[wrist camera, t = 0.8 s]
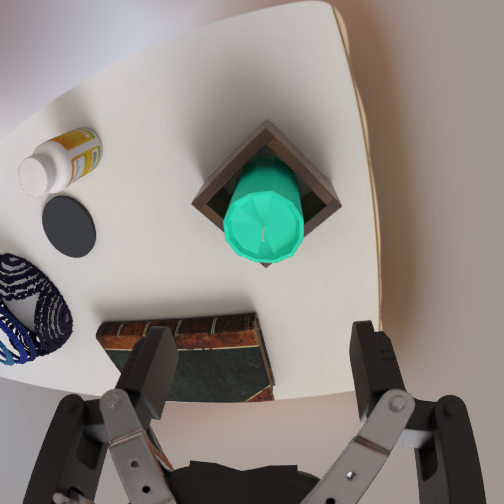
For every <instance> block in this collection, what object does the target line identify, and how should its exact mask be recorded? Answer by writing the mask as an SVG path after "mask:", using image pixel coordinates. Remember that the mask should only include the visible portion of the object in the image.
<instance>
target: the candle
mask: <svg viewBox="0 0 504 504" xmlns="http://www.w3.org/2000/svg"><path fill="white" fill-rule="evenodd" d="M223 226H224V233H225V240H226V241H227V242H228V244H229V245H230V246H231V247H232V249H233V250H234V251H235V252H236V254H237V255H239V256H242V257H244V258H247V259H249V260H252V261H254V262H267V263H276V262H279V261H281V260H284V259H286V258H289V257H291V256H293V255H294V253H295V252H296V250H297V249H298V247H299V245H300V244H301V242H302V240H303V233H304V219H303V213H302V207H301V201H300V195H299V190H298V184H297V179H296V175H295V173H294V172H293V170H292V169H291V168H290V167H289V166H288V165H287V164H286V163H285V162H284V161H282V160H280V159H278V158H276V157H274V156H270V157H258V158H256V159H254V160H253V161H251V162H250V163H248V164H246V166H245V167H244V169H243V171H242V173H241V175H240V177H239V180H238V183H237V185H236V188H235V191H234V193H233V196H232V199H231V201H230V204H229V207H228V210H227V212H226V215H225V218H224V221H223Z"/></svg>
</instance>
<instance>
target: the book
mask: <svg viewBox="0 0 504 504" xmlns="http://www.w3.org/2000/svg"><path fill="white" fill-rule="evenodd" d="M152 326H162V327H169V329H170V331H171V334H172V337H173V339H174V342H175V344H176V347H177V349H178V363H177V366H176V369H175V372H174V375H173V379H172V382H171V385H170V389H169V392H168V395H167V398H166V401H177V402H214V403H234V402H264V401H273V400H275V399H274V396H273V386H275V382H274V378H273V374H272V370H271V366H270V362H269V358H268V355H267V351H266V347H265V343H264V339H263V336H262V332H261V328H260V324H259V320H258V316H257V313H255V314H245V315H234V316H222V317H209V318H194V319H178V320H159V321H138V322H110V323H102V324H101V325H100V326H99V328H98V330H97V333H96V339H97V340H98V342H99V343H100V344H101V346H102V347H103V349H104V350H105V352H106V353H107V354H108V356H109V357H110V359H111V360H112V362H113V363H114V364H115V366H116V367H117V368H118V370H119V371H120V373H122V371H123V368H124V366H125V364H126V362H127V359H128V357H129V355H130V353H131V351H132V348H133V346H134V344H135V343H136V342H137V341H138V340H139V339H140V338H141V337H146V336H147V334H148V332H149V329H150V328H151V327H152Z"/></svg>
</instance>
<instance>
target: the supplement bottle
mask: <svg viewBox="0 0 504 504" xmlns="http://www.w3.org/2000/svg"><path fill="white" fill-rule="evenodd" d="M101 156H102V146H101V142H100V140H99V138H98V137H97V135H96V134H95V133H94V132H93V131H91V130H89V129H86V128H79V129H76V130H73V131H70V132H68V133H65V134H63V135H60V136H58V137H55V138H53V139H51V140H48V141H46V142H44V143H42V144H40V145H39V146H38V147H37V148H36V149H35V151H34V152H33V154H32V155H31V156H29V157H28V158H26V159H24V160H23V162H22V163H21V165H20V168H19V179H20V183H21V186H22V187H23V189H24V191H25V192H26V193H27V194H28V195H30V196H32V197H40V196H42V195H44V194H45V193H57V192H60V191H61V190H63V189H65V188H66V187H67V186H69V185H70V184H72V183H73V182H75V181H76V180H78V179H79V178H81V177H82V176H84V175H86V174H87V173H89V172H90V171H92V170H93V169H94V168H96V166H97V165H98V164H99V162H100V160H101Z"/></svg>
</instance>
